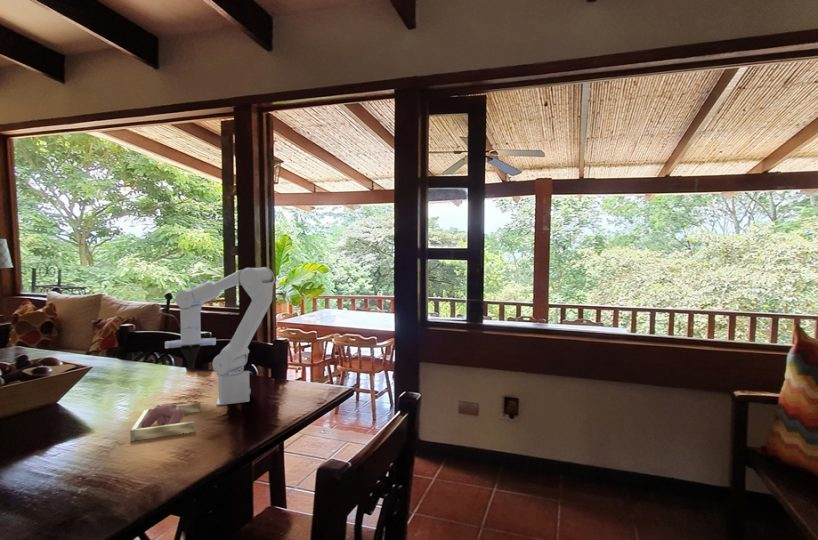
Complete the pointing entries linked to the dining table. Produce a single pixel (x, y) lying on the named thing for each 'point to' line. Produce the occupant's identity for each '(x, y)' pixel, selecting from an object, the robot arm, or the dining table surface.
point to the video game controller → (164, 415)
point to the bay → (163, 430)
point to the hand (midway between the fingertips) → (191, 368)
